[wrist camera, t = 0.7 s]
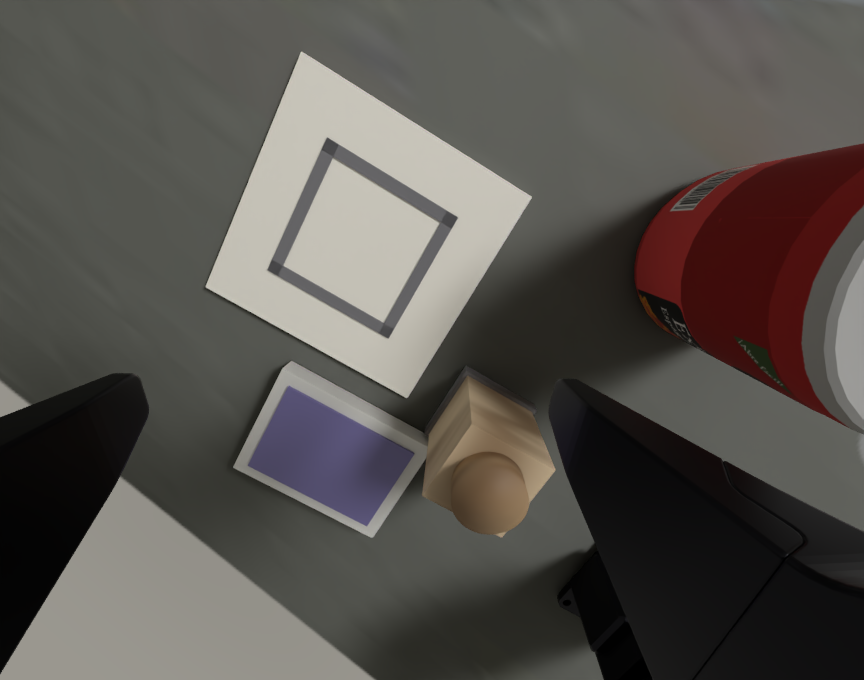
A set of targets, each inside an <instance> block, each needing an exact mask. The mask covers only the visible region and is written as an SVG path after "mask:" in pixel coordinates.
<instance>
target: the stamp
mask: <svg viewBox="0 0 864 680" xmlns="http://www.w3.org/2000/svg"><path fill="white" fill-rule="evenodd" d="M536 412H537V409H536V407H535V405H534V404H533V403H531V402H529V401H527V400H526V399H524V398H522V397H520V396H519V395H517V394H515V393H513V392H512V391H510V390H508V389H506V388H505V387H503V386H501V385H499V384H498V383H496V382H494V381H492V380H491V379H489V378H487V377H485V376H484V375H482V374H480V373H478V372H477V371H475V370H473V369H471V368H470V367H468V366H465V367H464V369H463V370H462V372H461V374H460V375H459V377H458V378H457V380H456V381H455V383H454V384H453V386H452V387H451V389H450V390H449V392H448V393H447V395H446V397H445V398H444V400H443V401H442V403H441V404H440V406H439V407H438V409H437V410H436V412H435V413H434V415H433V416H432V418H431V420H430V421H429V423H428V424H427V426H426V427H425V433H424V435H426V436H428V437H429V440H428V448H427V457H426V466H425V474H424V483H423V492H422V496H423V497H425V498H427V499H429V500H431V501H433V502H435V503H437V504H438V505H440V506H442V507H444V508H446V509H448V510H450V511H452V512H453V513H454V515H455V517H456V518H457V520H458V521H459V522H460V523H461V524H462V525H463V526H465V527H466V528H468V529H469V530H472V531H474V532H477V533H481V534H496V535H497V536H499V537H501V538H502V537H503V536H504V534H505V533H506V532H507V531H509V530H511V529H513V528H514V527H516V526H517V525H518V524H519V523H520V522H521V521H522V520H523V519H524V517H525V515H526V513H527V511H528V507H529V503H530V502H531V500H532V499H533V498H534V497H535V495H536V494H537V493H538V492H539V490H540V489H541V488H542V487H543V485H544V484H545V483H546V482H547V480H548V479H549V478H550V477H551V475H552V474H553V473H554V472H555V468H554V465H553V463H552V460H551V458H550V455H549V453H548V450H547V448H546V445H545V443H544V441H543V438H542V436H541V433H540V431H539V428H538V426H537V423H536V421H535V418H534V415H535V413H536Z"/></svg>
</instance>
